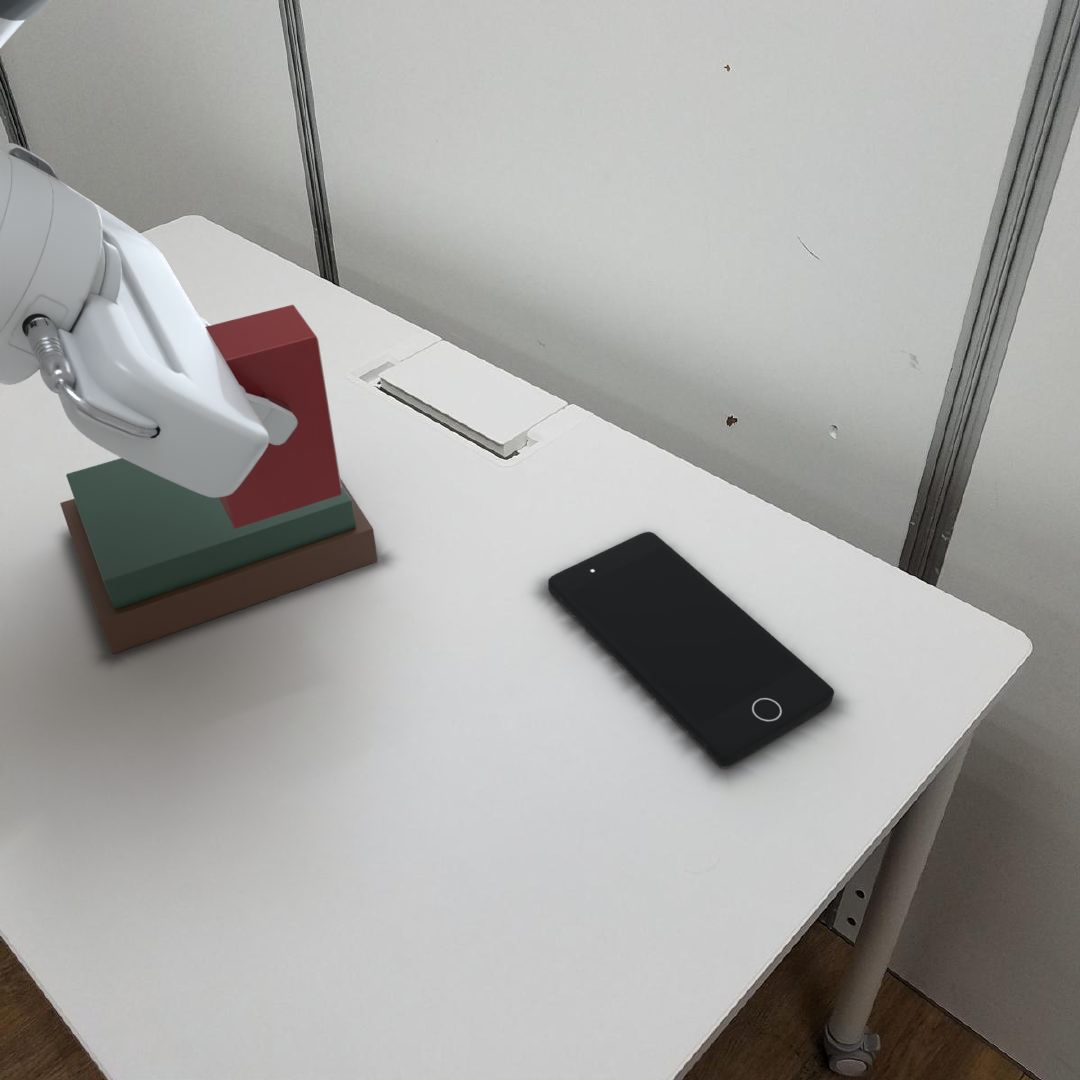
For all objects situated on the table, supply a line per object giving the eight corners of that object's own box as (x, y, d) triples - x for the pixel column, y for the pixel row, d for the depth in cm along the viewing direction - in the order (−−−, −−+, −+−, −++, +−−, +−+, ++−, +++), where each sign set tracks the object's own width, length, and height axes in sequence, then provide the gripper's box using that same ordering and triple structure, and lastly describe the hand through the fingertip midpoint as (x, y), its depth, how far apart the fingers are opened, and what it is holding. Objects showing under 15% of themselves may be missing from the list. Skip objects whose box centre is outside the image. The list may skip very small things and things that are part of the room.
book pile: (112, 654, 70) (88, 592, 67) (72, 535, 79) (48, 474, 75) (378, 561, 77) (369, 499, 73) (313, 460, 85) (303, 400, 82)
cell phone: (723, 770, 63) (725, 760, 62) (544, 588, 74) (544, 578, 74) (835, 702, 67) (838, 692, 66) (649, 538, 78) (649, 528, 77)
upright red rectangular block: (234, 529, 59) (194, 368, 52) (215, 492, 61) (175, 333, 54) (344, 494, 61) (319, 335, 54) (322, 459, 63) (295, 303, 56)
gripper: (100, 328, 40) (384, 464, 49) (9, 129, 53) (247, 267, 63) (9, 465, 41) (303, 570, 51) (-57, 237, 54) (185, 355, 64)
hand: (271, 401), depth 57 cm, fingers closed on upright red rectangular block, 3 cm apart
